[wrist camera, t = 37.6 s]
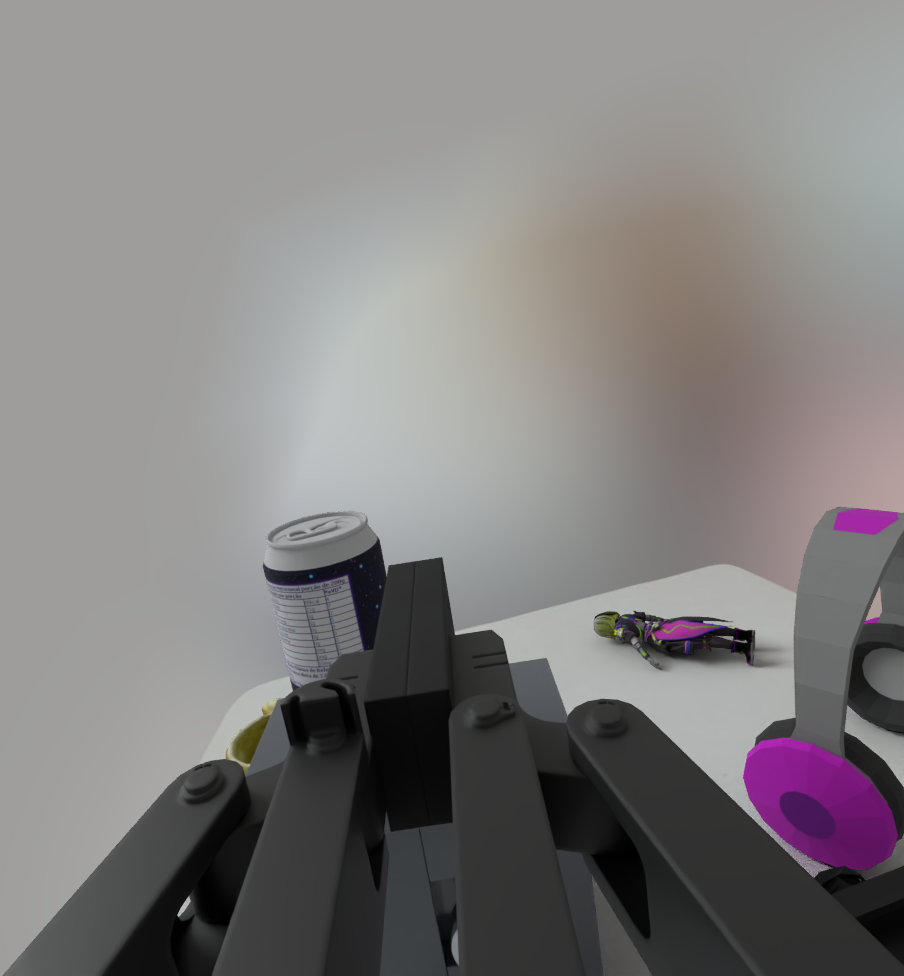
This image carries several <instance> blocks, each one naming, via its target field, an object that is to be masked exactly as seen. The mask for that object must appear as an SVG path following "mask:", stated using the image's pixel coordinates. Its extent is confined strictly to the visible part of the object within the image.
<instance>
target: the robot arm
mask: <svg viewBox="0 0 904 976" xmlns="http://www.w3.org/2000/svg"><path fill="white" fill-rule="evenodd" d="M280 707H281V711H282V715H283V719H284V723H285V727H286V731H287V735H288V739H289V743H290V748H289V750H288V753H287V756H286V759H285V760H284V761H282V762H281V763H279V764H277V765H274V766H272V767H270V768H267V769H265V770H262V771H259V772H257V773H254V774H251V775H248V776H246V777H245V774H244V770H243V767H242V766H241V765H240V764H239V763H238V762H236V761H232V760H227V759H222V760H214V761H209V762H205V763H204V764H200V765H197V766H195V767H193V768H192V769H190V770H189V771H187V772H185V773H183V774H182V775H180V776H179V777H178V778H177V779H176V780H175V781H173V782H172V783H171V784H170V785H169V786H168V787H167V788H166V789H165V791H164V792H163V793H162V794H161V795H160V796H159V797H158V799H157V800H156V801H155V802H154V803H153V804H152V805H151V807H150V808H149V809H148V810H147V811H146V812H145V814H144V815H143V816H142V817H141V818H140V819H139V821H137V823H136V824H135V825H134V826H133V827H132V828H131V829H130V831H129V832H128V833H127V834H126V835H125V836H124V838H123V839H122V840H121V841H120V842H119V843H118V844H117V845H116V847H115V848H114V849H113V850H112V851H111V852H110V854H109V855H108V856H107V857H106V858H105V859H104V861H102V863H101V864H100V865H99V866H98V867H97V868H96V869H95V871H94V872H93V873H92V874H91V875H90V876H89V878H88V879H87V880H86V881H85V882H84V883H83V884H82V885H81V887H80V888H79V889H78V890H77V891H76V892H75V893H74V895H73V896H72V897H71V898H70V899H69V900H68V901H67V903H66V904H65V905H64V906H63V907H62V908H61V909H60V911H59V912H58V913H57V914H56V915H55V916H54V917H53V919H52V920H51V921H50V922H49V923H48V924H47V925H46V927H45V928H44V929H43V930H42V931H41V932H40V933H39V935H38V936H37V937H36V938H35V939H34V940H33V941H32V943H31V944H30V945H29V946H28V947H27V948H26V949H25V951H24V952H23V953H22V954H21V955H20V956H19V957H18V959H17V960H16V961H15V962H14V963H13V964H12V965H11V967H10V968H9V969H8V970H7V971H6V972H5V973H4V975H3V976H380V968H381V955H382V942H383V929H384V916H385V903H386V891H387V878H388V865H389V851H388V845H387V841H386V836H385V831H384V829H385V819H386V812H387V817H388V822H389V826H390V831H391V832H394V831H401V830H407V829H414V828H420V827H427V826H433V825H440V824H447V823H453V836H454V860H455V884H456V908H457V932H458V956H459V976H586V974H585V969H584V965H583V961H582V957H581V953H580V948H579V944H578V940H577V936H576V932H575V928H574V923H573V919H572V915H571V911H570V907H569V903H568V898H567V894H566V890H565V886H564V882H563V878H562V873H561V869H560V865H559V861H558V857H557V853H556V850H562V851H570V852H577V853H582V856H583V859H584V862H585V864H586V866H587V868H588V870H589V871H590V873H591V875H592V876H593V878H594V880H595V881H596V883H597V884H598V886H599V888H600V889H601V891H602V893H603V894H604V896H605V898H606V899H607V901H608V903H609V904H610V906H611V908H612V909H613V911H614V913H615V914H616V916H617V918H618V919H619V921H620V922H621V924H622V926H623V927H624V929H625V931H626V932H627V934H628V936H629V937H630V939H631V941H632V942H633V944H634V946H635V947H636V949H637V951H638V952H639V954H640V955H641V957H642V959H643V960H644V962H645V964H646V965H647V967H648V969H649V970H650V972H651V974H652V975H653V976H904V965H903V964H902V963H901V962H900V961H898V960H897V959H896V958H895V957H894V956H893V955H892V954H891V953H890V952H889V951H888V950H887V949H886V948H885V947H884V946H883V945H882V944H881V943H880V942H879V941H878V940H877V939H876V938H875V937H874V936H873V935H872V934H871V933H870V932H869V931H868V930H867V929H865V928H864V927H863V926H862V925H861V924H860V923H859V922H858V921H857V920H856V919H855V918H854V917H853V916H852V915H851V914H850V913H849V912H848V911H847V910H846V909H845V908H844V907H843V906H842V905H841V904H840V903H839V902H838V901H837V900H836V899H835V898H834V897H833V896H831V895H830V894H829V893H828V892H827V891H826V890H825V889H824V888H823V887H822V886H821V885H820V884H819V883H818V882H817V881H816V880H815V879H814V878H813V877H812V876H811V875H810V874H809V873H808V872H807V871H806V870H805V869H804V868H803V867H802V866H801V865H800V864H799V863H797V862H796V861H795V860H794V859H793V858H792V857H791V856H790V855H789V854H788V853H787V852H786V851H785V850H784V849H783V848H782V847H781V846H780V845H779V844H778V843H777V842H776V841H775V840H774V839H773V838H772V837H771V836H770V835H769V834H768V833H767V832H766V831H765V830H763V829H762V828H761V827H760V826H759V825H758V824H757V823H756V822H755V821H754V820H753V819H752V818H751V817H750V816H749V815H748V814H747V813H746V812H745V811H744V810H743V809H742V808H741V807H740V806H739V805H738V804H737V803H736V802H735V801H734V800H733V799H732V798H731V797H729V796H728V795H727V794H726V793H725V792H724V791H723V790H722V789H721V788H720V787H719V786H718V785H717V784H716V783H715V782H714V781H713V780H712V779H711V778H710V777H709V776H708V775H707V774H706V773H705V772H704V771H703V770H702V769H701V768H700V767H699V766H698V765H696V764H695V763H694V762H693V761H692V760H691V759H690V758H689V757H688V756H687V755H686V754H685V753H684V752H683V751H682V750H681V749H680V748H679V747H678V746H677V745H676V744H675V743H674V742H673V741H672V740H671V739H670V738H669V737H668V736H667V735H666V734H665V733H664V732H662V731H661V730H660V729H659V728H658V727H657V726H656V725H655V724H654V723H653V722H652V721H651V720H650V719H649V718H648V717H647V716H646V715H645V714H644V713H643V712H642V711H641V710H639V709H638V708H636V707H635V706H633V705H632V704H629V703H626V702H623V701H619V700H612V699H599V700H593V701H588V702H585V703H583V704H581V705H579V706H577V707H575V708H574V710H573V711H572V712H571V713H570V714H569V715H568V718H567V723H559V722H550V721H544V720H540V719H537V718H534V717H532V716H531V715H529V714H527V713H526V712H525V711H524V710H523V709H522V708H521V707H520V705H519V703H518V701H517V696H516V692H515V688H514V684H513V680H512V675H511V671H510V667H509V663H508V659H507V654H506V650H505V646H504V642H503V639H502V638H501V637H500V636H499V635H497V634H496V633H495V632H494V631H492V630H486V631H480V632H473V633H467V634H460V635H455V633H454V627H453V620H452V614H451V608H450V602H449V596H448V590H447V584H446V578H445V572H444V565H443V559H442V557H441V558H435V559H429V560H422V561H415V562H409V563H402V564H396V565H389V567H388V573H387V578H386V583H385V589H384V594H383V600H382V605H381V611H380V616H379V621H378V627H377V632H376V638H375V643H374V648H373V650H367V651H360V652H354V653H347V654H342V655H341V656H340V657H339V658H338V659H337V660H336V661H335V662H334V663H333V664H332V665H331V666H330V667H329V670H328V673H327V676H326V679H322V680H318V681H314V682H310V683H308V684H306V685H304V686H301V687H299V688H297V689H296V690H294V691H293V692H292V693H290V694H289V695H288V696H286V698H285V699H284V700H283V702H282V703H281V705H280ZM188 896H189V897H190V900H191V902H190V904H189V905H188V907H187V908H186V910H185V911H184V912H183V913H182V914H181V915H180V917H178V916H177V914H178V912H179V910H180V908H181V907H182V905H183V904H184V902H185V901H186V899H187V898H188Z"/></svg>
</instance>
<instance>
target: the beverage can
mask: <svg viewBox="0 0 904 976" xmlns="http://www.w3.org/2000/svg"><path fill="white" fill-rule="evenodd" d="M367 522H368V520H367V517H366V515H364V514H362V513H359V512H354V511H338V512H328V513H322V514H316V515H312V516H308V517H304V518H300V519H297V520H294V521H291V522H288V523H286V524H284V525H281V526H279V527H277V528H275V529H274V530H272V531H271V532H270V533H269V534H268V535H267V536H266V543H267V545H268V548H267V552H266V555H265V559H264V563H263V568H264V573H265V577H266V581H267V585H268V589H269V593H270V597H271V602H272V606H273V610H274V614H275V618H276V622H277V627H278V630H279V635H280V639H281V643H282V647H283V651H284V656H285V660H286V663H287V668H288V672H289V676H290V680H291V684H292V689H293V691H294V690H296V689H297V688H299V687H301V686H304V685H306V684H308V683H310V682H314V681H318V680H322V679H326V676H327V673H328V670H329V667H330V666H331V665H332V664H333V663H334V662H335V661H336V660H337V659H338V658H339V657H340V656H341V655H342V654H347V653H354V652H360V651H367V650H373V648H374V643H375V638H376V632H377V627H378V621H379V616H380V611H381V605H382V600H383V594H384V589H385V583H386V578H387V577H386V571H385V566H384V561H383V555H382V550H381V545H380V540H379V538H378V537H377V536H376V534H375V533H374V532H373V531H372V529H371V528H370V527H369V525H368V524H367Z"/></svg>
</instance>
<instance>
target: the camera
mask: <svg viewBox="0 0 904 976" xmlns="http://www.w3.org/2000/svg"><path fill="white" fill-rule="evenodd" d="M814 879H815V880H816V881H817V882H818V883H819V884H820V885H821V886H822V887H823V888H824V889H825V890H826V891H827V892H828V893H829V894H830V895H831V896H833V897H834V898H835V899H836V900H837V901H838V902H839V903H840V904H841V905H842V906H843V907H844V908H845V909H846V910H847V911H848V912H849V913H850V914H851V915H852V916H853V917H854V918H855V919H856V920H857V921H858V922H859V923H860V924H861V925H862V926H863V927H864V928H865V929H867V930H868V931H869V932H870V933H871V934H872V935H873V936H874V937H875V938H876V939H877V940H878V941H879V942H880V943H881V944H882V945H883V946H884V947H885V948H886V949H887V950H888V951H889V952H890V953H891V954H892V955H893V956H894V957H895V958H896V959H897V960H898V961H900V962H901V963H902V964H903V965H904V866H902V867H900V868H897V869H895V870H892V871H890V872H887V873H884V874H882V875H879V876H877V877H874V878H872V879H869V880H865V879H864V878H863V877H862V876H861V875H860V874H859V873H857V872H855V871H854V870H852V869H850V868H848V867H847V866H845V865H844V866H840V867H836V868H833V869H829V870H825V871H822V872H819V873H818V875H817V876H816V877H815V878H814ZM859 879H861V881H860V880H859Z"/></svg>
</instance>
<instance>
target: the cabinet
mask: <svg viewBox="0 0 904 976" xmlns="http://www.w3.org/2000/svg"><path fill="white" fill-rule="evenodd" d="M509 667H510V671H511V675H512V680H513V684H514V688H515V692H516V696H517V701H518V703H519V705H520V707H521V708H522V709H523V710H524V711H525V712H526V713H527V714H529V715H531V716H532V717H534V718H537V719H540V720H544V721H550V722H559V723H567V718H568V716H567V713H566V710H565V708H564V705H563V702H562V699H561V697H560V694H559V691H558V688H557V685H556V683H555V680H554V677H553V674H552V672H551V669H550V666H549V663H548V660H547V658H543V659H537V660H530V661H524V662H517V663H511V664H509ZM284 699H285V698H282V699H278V700H277V702H276V705H275V707H274V709H273V712H272V714H271V716H270V719H269V721H268V724H267V726H266V728H265V731H264V733H263V735H262V738H261V740H260V742H259V745H258V747H257V750H256V752H255V754H254V757H253V759H252V761H251V764H250V766H249V768H248V771H247V773H246V776H248V775H251V774H254V773H257V772H259V771H262V770H265V769H267V768H270V767H272V766H274V765H277V764H279V763H281V762H282V761H284V760H285V759H286V756H287V753H288V750H289V748H290V743H289V739H288V735H287V731H286V727H285V723H284V719H283V715H282V711H281V707H280V705H281V703H282V702H283V700H284ZM246 776H245V777H246ZM384 831H385V836H386V841H387V845H388V851H389V865H388V878H387V891H386V903H385V916H384V929H383V942H382V955H381V968H380V976H459V965H458V964H457V963H456V961H455V959H454V957H453V954H452V950H451V929H450V917H451V913H452V910H453V907H454V906H455V904H456V884H455V860H454V836H453V823H447V824H440V825H433V826H427V827H420V828H414V829H407V830H401V831H394V832H391V831H390V826H389V822H388V817H387V812H386V819H385V829H384ZM556 853H557V857H558V861H559V865H560V869H561V873H562V878H563V882H564V886H565V890H566V894H567V898H568V903H569V907H570V911H571V915H572V919H573V923H574V928H575V932H576V936H577V940H578V944H579V948H580V953H581V957H582V961H583V965H584V969H585V974H586V976H603V969H602V961H601V952H600V944H599V935H598V926H597V918H596V909H595V901H594V892H593V884H592V875H591V873H590V871H589V870H588V868H587V866H586V864H585V862H584V859H583V856H582V853H577V852H570V851H562V850H556Z"/></svg>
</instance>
